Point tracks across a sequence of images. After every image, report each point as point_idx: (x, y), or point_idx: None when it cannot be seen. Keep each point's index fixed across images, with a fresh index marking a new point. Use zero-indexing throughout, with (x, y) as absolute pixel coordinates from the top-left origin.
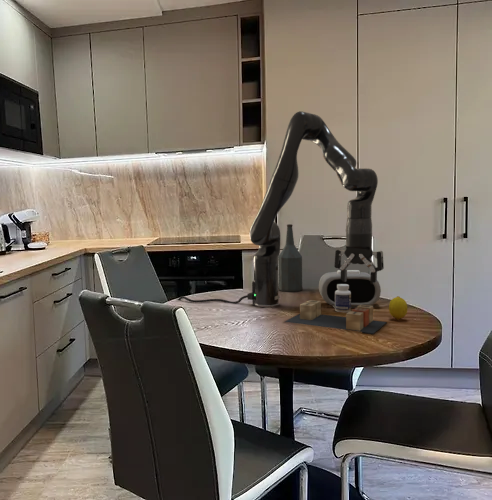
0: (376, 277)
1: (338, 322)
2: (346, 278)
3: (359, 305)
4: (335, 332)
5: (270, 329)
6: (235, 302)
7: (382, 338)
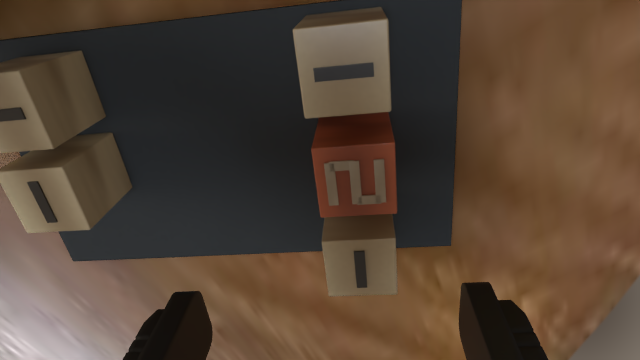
0: (538, 356)
1: (249, 157)
2: (190, 314)
3: (300, 66)
4: (311, 282)
5: (118, 348)
6: None
7: (496, 271)
